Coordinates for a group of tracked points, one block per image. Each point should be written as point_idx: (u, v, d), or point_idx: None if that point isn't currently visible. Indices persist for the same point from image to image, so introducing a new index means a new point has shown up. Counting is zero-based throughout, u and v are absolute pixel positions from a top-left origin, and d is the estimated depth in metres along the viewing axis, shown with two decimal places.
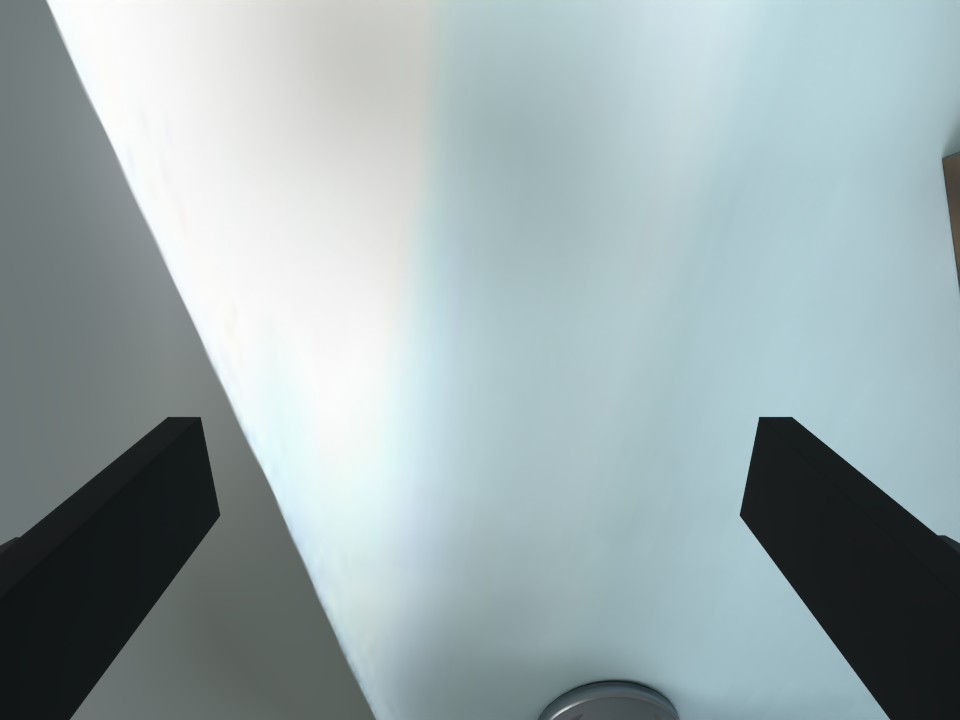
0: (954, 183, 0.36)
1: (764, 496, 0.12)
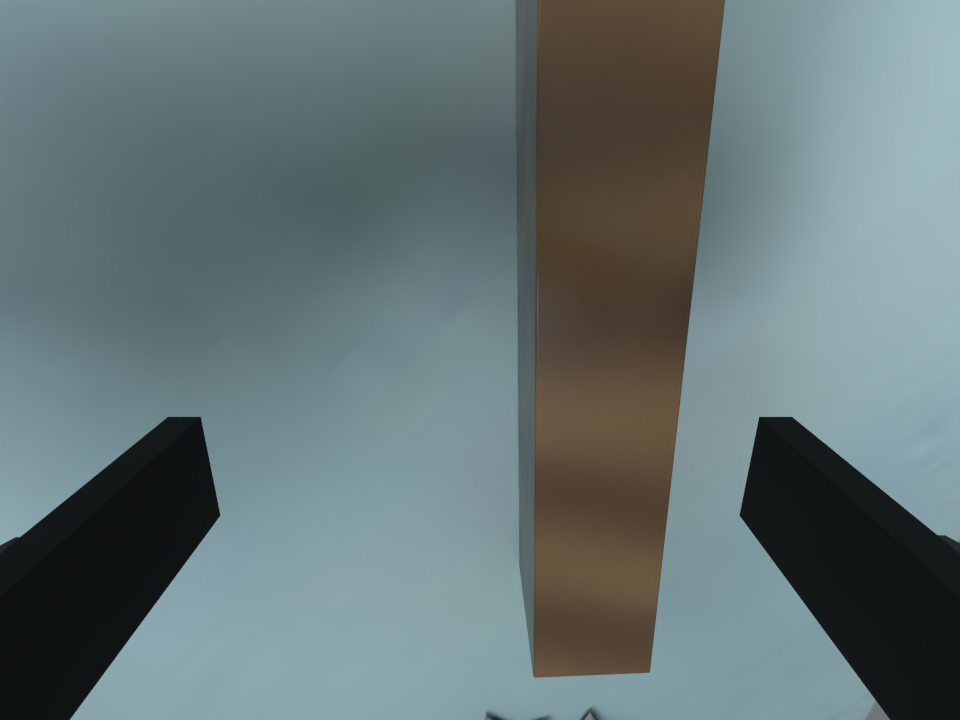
0: None
1: (764, 496, 0.12)
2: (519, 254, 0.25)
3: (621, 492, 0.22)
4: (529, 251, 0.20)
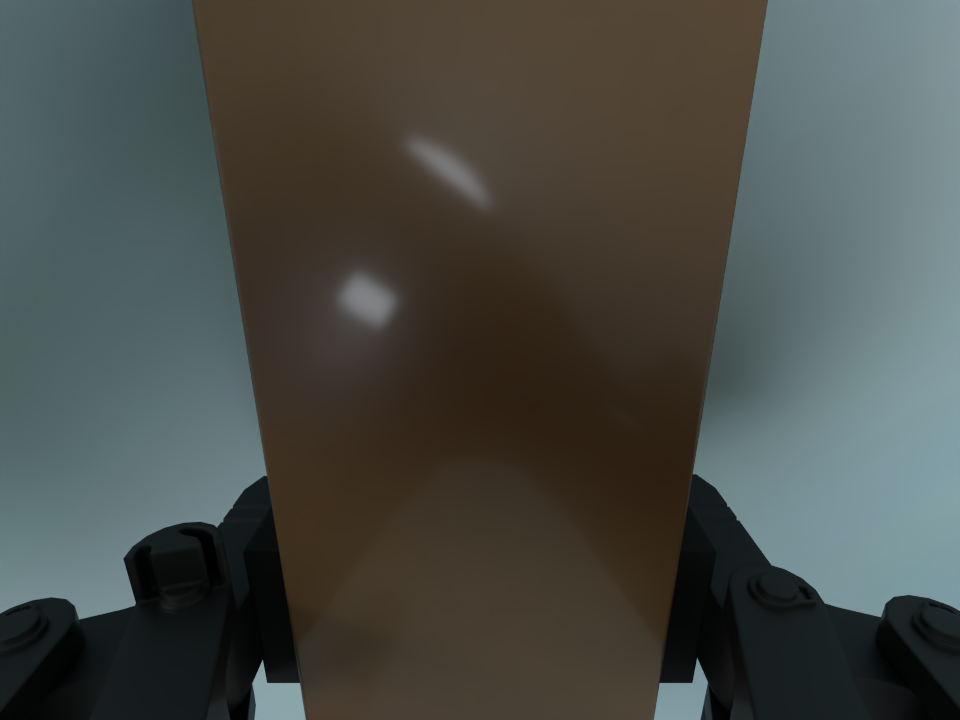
0: None
1: None
2: None
3: (544, 356, 0.06)
4: None
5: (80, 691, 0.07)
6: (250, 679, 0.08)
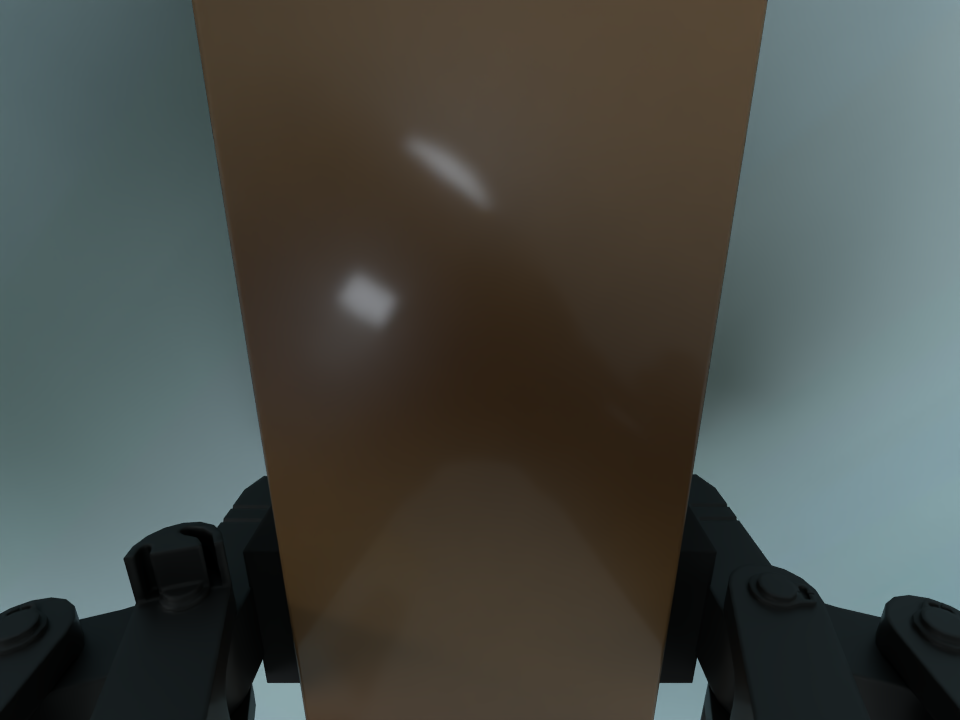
0: None
1: None
2: None
3: (544, 357, 0.06)
4: None
5: (80, 691, 0.07)
6: (250, 679, 0.08)
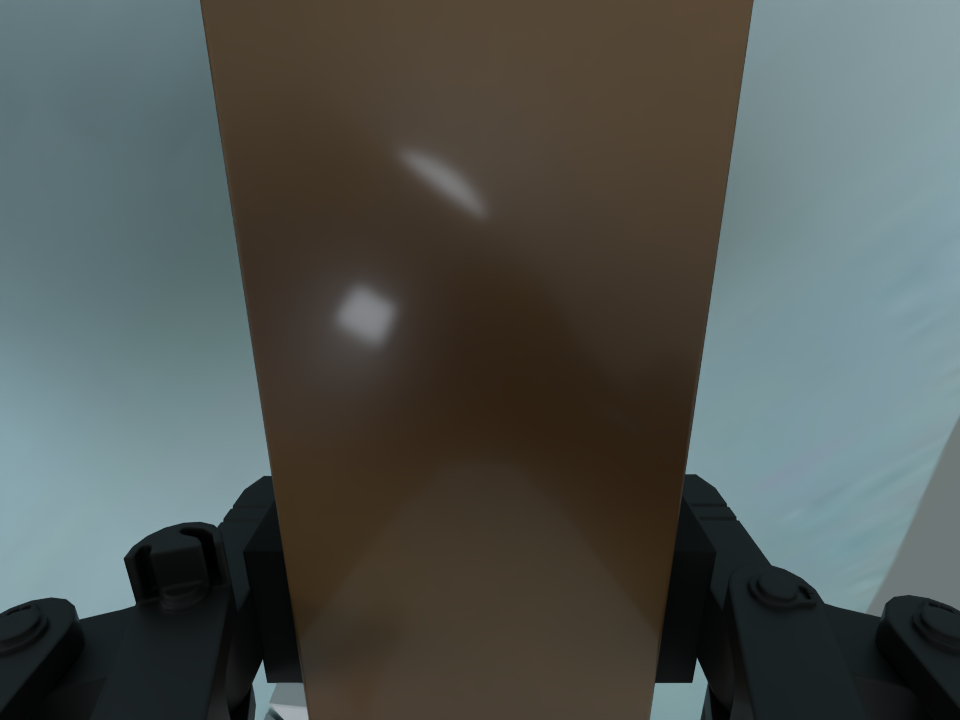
0: None
1: None
2: None
3: (541, 346, 0.07)
4: None
5: (80, 691, 0.07)
6: (250, 679, 0.08)
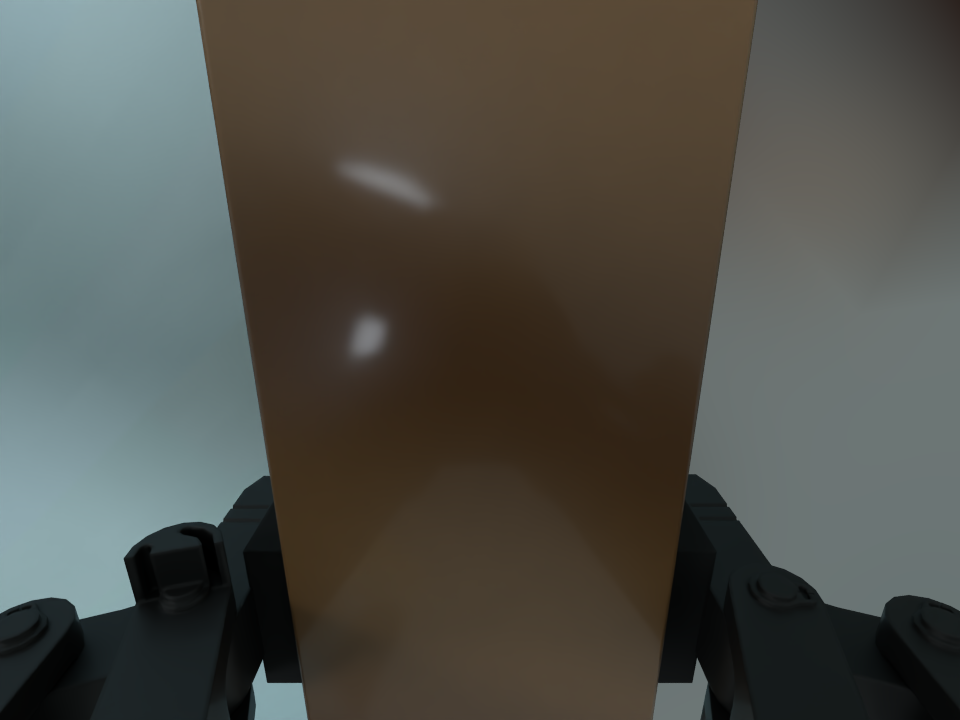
0: None
1: None
2: None
3: (543, 346, 0.07)
4: None
5: (80, 691, 0.07)
6: (250, 679, 0.08)
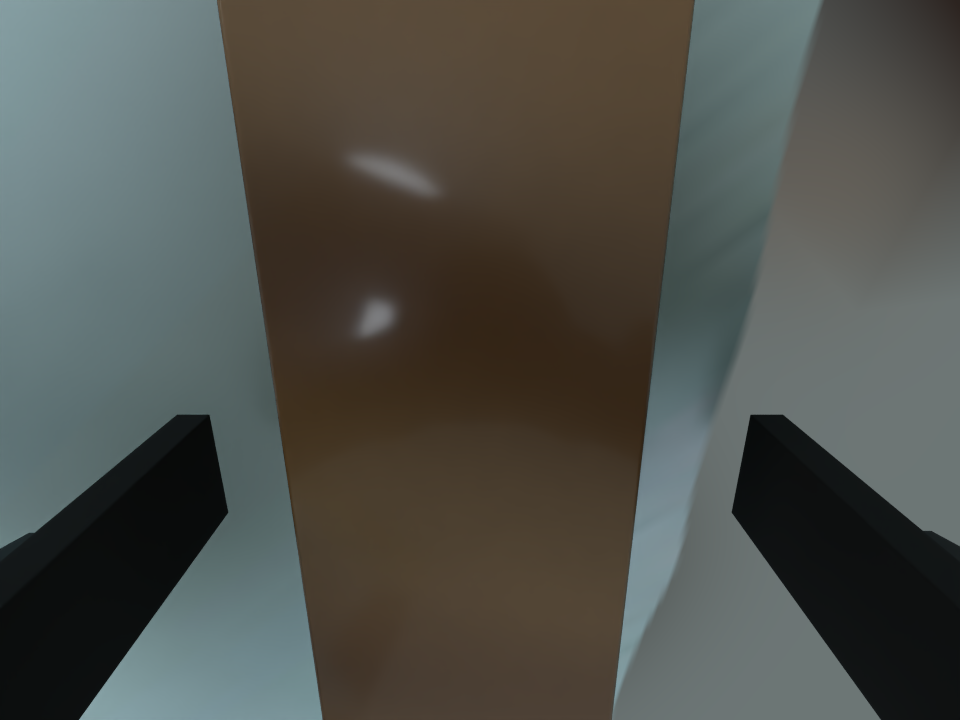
0: None
1: (755, 493, 0.12)
2: None
3: (516, 294, 0.07)
4: None
5: None
6: None
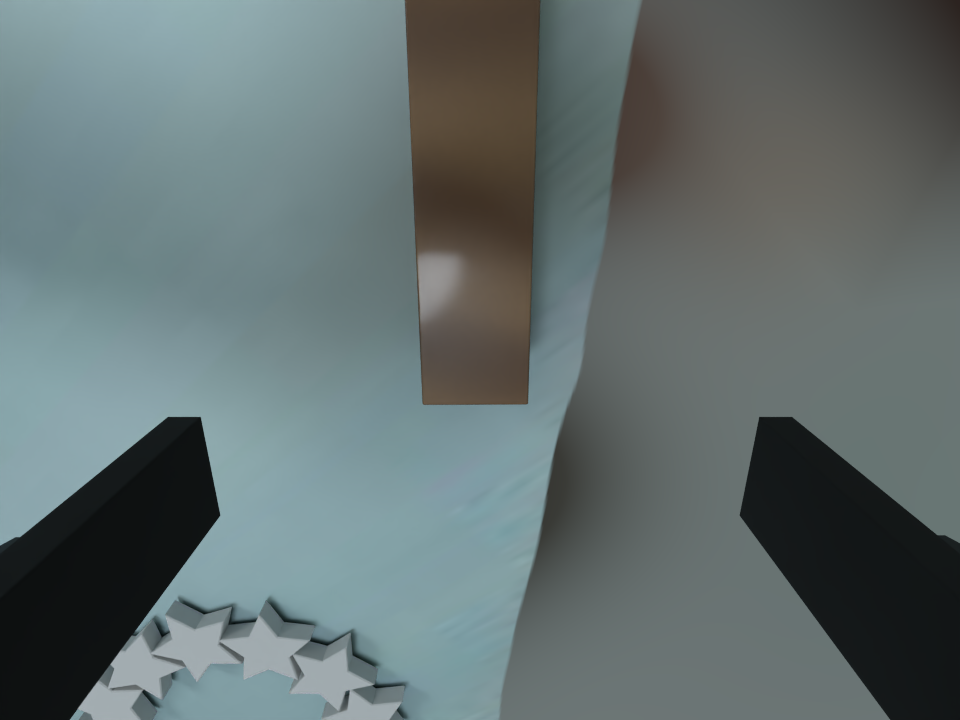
0: None
1: (764, 496, 0.12)
2: None
3: (490, 202, 0.25)
4: None
5: None
6: None
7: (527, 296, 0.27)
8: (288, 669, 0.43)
